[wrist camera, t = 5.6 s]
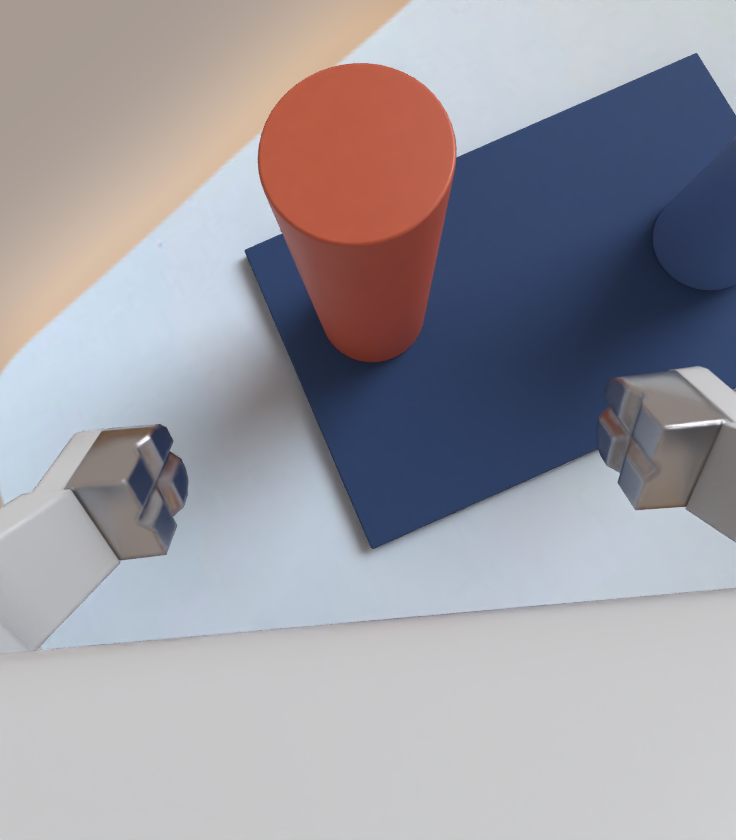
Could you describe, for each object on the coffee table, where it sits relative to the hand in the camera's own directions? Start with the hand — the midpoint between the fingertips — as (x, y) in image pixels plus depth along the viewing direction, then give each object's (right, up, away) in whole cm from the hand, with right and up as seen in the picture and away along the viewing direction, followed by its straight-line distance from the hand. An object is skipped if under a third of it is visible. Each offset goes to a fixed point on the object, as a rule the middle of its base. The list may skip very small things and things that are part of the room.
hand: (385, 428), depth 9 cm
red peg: (0, +5, +11) cm, 12 cm away
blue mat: (+7, +6, +12) cm, 15 cm away
